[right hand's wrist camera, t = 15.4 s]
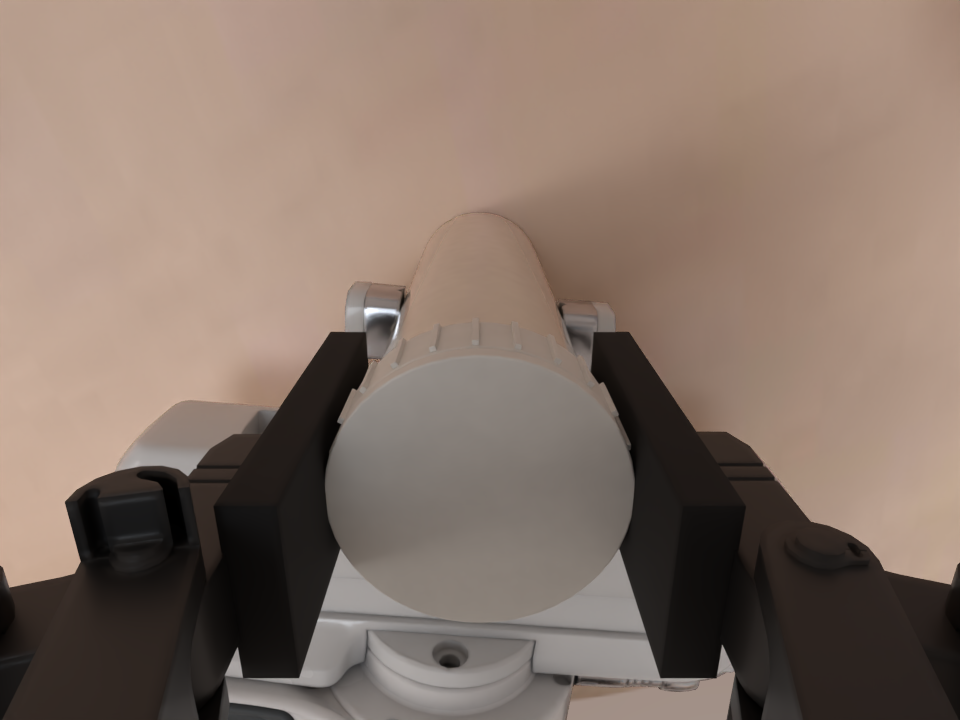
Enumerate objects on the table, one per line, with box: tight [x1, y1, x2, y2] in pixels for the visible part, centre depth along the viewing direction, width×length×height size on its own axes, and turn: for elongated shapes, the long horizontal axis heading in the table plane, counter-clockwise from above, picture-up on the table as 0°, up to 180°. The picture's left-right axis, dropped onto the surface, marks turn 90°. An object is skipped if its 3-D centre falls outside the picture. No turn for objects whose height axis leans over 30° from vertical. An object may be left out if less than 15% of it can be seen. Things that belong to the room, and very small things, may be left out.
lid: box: [325, 318, 635, 623], centre depth 11 cm, size 5×5×2 cm
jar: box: [381, 212, 578, 359], centre depth 18 cm, size 4×4×15 cm
